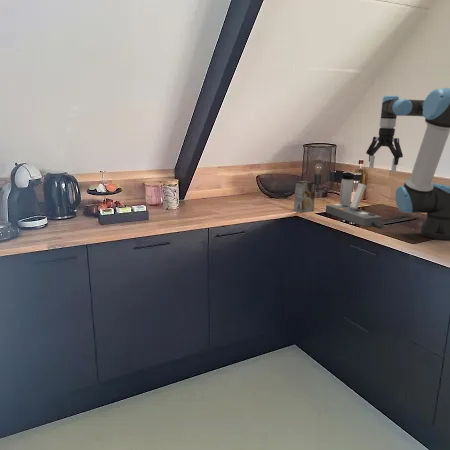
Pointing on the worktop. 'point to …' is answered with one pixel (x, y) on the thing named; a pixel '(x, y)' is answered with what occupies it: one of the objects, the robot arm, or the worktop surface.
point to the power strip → (354, 215)
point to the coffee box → (304, 196)
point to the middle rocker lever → (357, 196)
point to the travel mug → (346, 188)
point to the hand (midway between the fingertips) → (382, 169)
